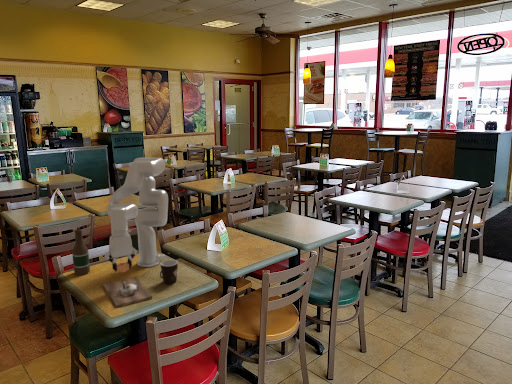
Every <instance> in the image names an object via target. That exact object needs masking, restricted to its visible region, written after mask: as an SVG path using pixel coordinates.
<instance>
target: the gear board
mask: <svg viewBox="0 0 512 384" xmlns="http://www.w3.org/2000/svg"><path fill="white" fill-rule="evenodd" d="M103 287H104V289H105V291H106V293H107V294H108V296H109V298H110V300H111V301H112V303H113V304H114V306H115V308H120V307H124V306H128V305H132V304H135V303H136V304H137V303H140V302H145V301H148V300H152V299H153V295H152V294H151V293H150V292H149V291H148V289H147V288H146V287H145V286H144V285H143V283H142V282H141V280H140V279H139V278H138V277H137V276H133V277H130V278H125V279H120V280H119V279H118V280H115V281H111V282H107V283H103Z"/></svg>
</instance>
